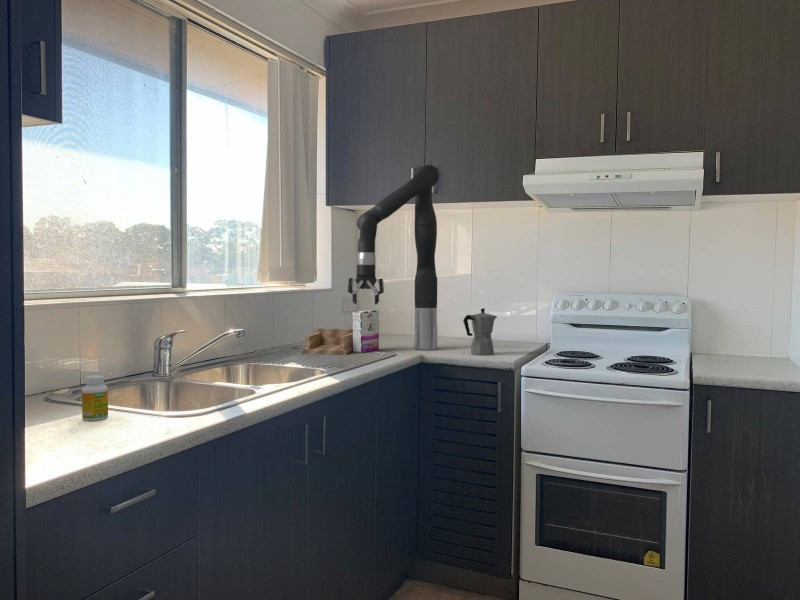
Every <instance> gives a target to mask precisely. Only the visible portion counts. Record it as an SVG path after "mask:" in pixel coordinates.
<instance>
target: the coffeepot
mask: <svg viewBox="0 0 800 600" xmlns="http://www.w3.org/2000/svg"><path fill="white" fill-rule="evenodd" d="M485 310H486V308H483V307H482V308H480V313H475V314H467V315H465V317H464V318H463V320H462V321H463V325H464V328H465V331H466V335H467V336H469V337H472V336H473V338H472V342H471V347H470V348H471V349H470V354H471V355H473V356H492V355H494V354H495V352H494V345H493V338H492V333H493V328H494V324H495V323H494V322H495V320H496V319H497V317H498V316H497V315H494V314H489V313H486V312H485ZM468 321H471V326H472V332H473V333H472V332H470V331H471V330H470V329H471V328H470V327H469V322H468Z"/></svg>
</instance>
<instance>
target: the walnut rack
mask: <svg viewBox="0 0 800 600" xmlns="http://www.w3.org/2000/svg"><path fill="white" fill-rule="evenodd" d="M313 332H314V333H312V334H309V335H306V336H305V348H302V349H301V354H308V355H309V354H311V355H314V354H315V355H345V356H346V355H348V354H350V353H352V352H353V328H352V329H351V328H316V327H315V328H314V331H313ZM351 351H352V352H351Z"/></svg>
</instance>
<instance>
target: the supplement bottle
mask: <svg viewBox="0 0 800 600" xmlns="http://www.w3.org/2000/svg"><path fill="white" fill-rule="evenodd" d="M104 383H105V376H104V375H102V374H96V375H95V374H94V375H92V374H91V375H87V376H85V377H84V384H85V386H83V387H82V388H81V414H82V415H81V417H82V421H86V422H97V421H98V422H99V421H103V420H106V419H107V418H108V417H109V399H108V398H109V397H108V393H109V391H108V390H109V389H108V386H107V385H106V384H104Z"/></svg>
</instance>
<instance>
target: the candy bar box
mask: <svg viewBox="0 0 800 600" xmlns="http://www.w3.org/2000/svg"><path fill="white" fill-rule="evenodd" d="M379 325H380V324H379V310H378V309H366V310H356V311H355V310H354V311H352V329H353V351H354V353H360V352H363V353H365V352H364V351H369V352H373V351H374V352H375V351H379V350H380V347H379V346H380V341H379V340H380V339H379V338H380V337H379V334H380V333H379ZM353 351H352V352H353Z"/></svg>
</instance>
